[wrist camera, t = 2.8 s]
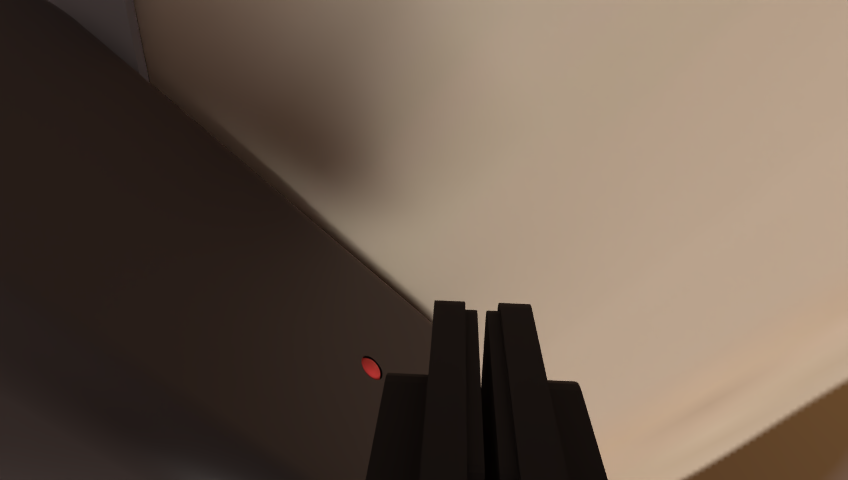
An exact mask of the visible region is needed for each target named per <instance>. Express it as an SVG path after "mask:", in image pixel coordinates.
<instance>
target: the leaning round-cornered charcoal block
mask: <svg viewBox="0 0 848 480" xmlns="http://www.w3.org/2000/svg"><path fill="white" fill-rule="evenodd" d="M432 326H433V324H432V323H431V322H430V321H429V320H428V319H427V318H426V317H425V316H423V315H422V314H421V313H420V312H419V311H417V310H416V309H415V308H414V307H413V306H412V305H410V304H409V303H408V302H407V301H406V300H405V299H403V298H402V297H401V296H400V295H399V294H397V293H396V292H395V291H394V290H393V289H392V288H390V287H389V286H388V285H387V284H386V283H385V282H383V281H382V280H381V279H380V278H379V277H377V276H376V275H375V274H374V273H373V272H372V271H370V270H369V269H368V268H367V267H366V266H365V265H363V264H362V263H361V262H360V261H359V260H357V259H356V258H355V257H354V256H353V255H352V254H350V253H349V252H348V251H347V250H346V249H345V248H343V247H342V246H341V245H340V244H339V243H337V242H336V241H335V240H334V239H333V238H332V237H330V236H329V235H328V234H327V233H326V232H325V231H323V230H322V229H321V228H320V227H319V226H317V225H316V224H315V223H314V222H313V221H312V220H310V219H309V218H308V217H307V216H306V215H305V214H303V213H302V212H301V211H300V210H299V209H297V208H296V207H295V206H294V205H293V204H292V203H290V202H289V201H288V200H287V199H286V198H285V197H283V196H282V195H281V194H280V193H279V192H277V191H276V190H275V189H274V188H273V187H272V186H270V185H269V184H268V183H267V182H266V181H265V180H263V179H262V178H261V177H260V176H259V175H257V174H256V173H255V172H254V171H253V170H252V169H250V168H249V167H248V166H247V165H246V164H245V163H243V162H242V161H241V160H240V159H239V158H237V157H236V156H235V155H234V154H233V153H232V152H230V151H229V150H228V149H227V148H226V147H225V146H223V145H222V144H221V143H220V142H219V141H217V140H216V139H215V138H214V137H213V136H212V135H210V134H209V133H208V132H207V131H206V130H205V129H203V128H202V127H201V126H200V125H199V124H197V123H196V122H195V121H194V120H193V119H192V118H190V117H189V116H188V115H187V114H186V113H185V112H183V111H182V110H181V109H180V108H179V107H177V106H176V105H175V104H174V103H173V102H172V101H170V100H169V99H168V98H167V97H166V96H165V95H163V94H162V93H161V92H160V91H159V90H157V89H156V88H155V87H154V86H153V85H152V84H150V83H149V82H148V81H147V80H146V79H145V78H143V77H142V76H141V75H140V74H139V73H137V72H136V71H135V70H134V69H133V68H132V67H130V66H129V65H128V64H127V63H126V62H125V61H123V60H122V59H121V58H120V57H119V56H117V55H116V54H115V53H114V52H113V51H112V50H110V49H109V48H108V47H107V46H106V45H105V44H103V43H102V42H101V41H100V40H99V39H97V38H96V37H95V36H94V35H93V34H92V33H90V32H89V31H88V30H87V29H86V28H85V27H83V26H82V25H81V24H80V23H79V22H77V21H76V20H75V19H74V18H72V17H71V16H70V15H68V14H67V13H66V12H64V11H63V10H61V9H60V8H59V7H57V6H56V5H54V4H52V3H51V2H49V1H48V0H0V480H366V475H367V470H368V465H369V460H370V454H371V449H372V444H373V439H374V434H375V429H376V423H377V418H378V413H379V408H380V403H381V398H382V393H383V387H384V382H385V378H386V375H387V373H404V374H425V375H428V373H429V361H430V349H431V338H432Z"/></svg>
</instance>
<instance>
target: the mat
mask: <svg viewBox="0 0 848 480" xmlns="http://www.w3.org/2000/svg"><path fill="white" fill-rule="evenodd" d="M48 1H49V2H51V3H52V4H54V5H56V6H57V7H59V8H60V9H61V10H63V11H64V12H66V13H67V14H68V15H70V16H71V17H72V18H74V19H75V20H76V21H77V22H79V23H80V24H81V25H82V26H83V27H85V28H86V29H87V30H88V31H89V32H90V33H92V34H93V35H94V36H95V37H96V38H97V39H99V40H100V41H101V42H102V43H103V44H105V45H106V46H107V47H108V48H109V49H110V50H112V51H113V52H114V53H115V54H116V55H117V56H119V57H120V58H121V59H122V60H123V61H125V62H126V63H127V64H128V65H129V66H130V67H132V68H133V69H134V70H135V71H136V72H137V73H139V74H140V75H141V76H142V77H143V78H145V79H146V80H147V81H148V82H149V77H148V72H147V67H146V62H145V57H144V52H143V47H142V42H141V37H140V32H139V27H138V22H137V17H136V12H135V7H134V2H133V0H48ZM149 83H150V82H149Z"/></svg>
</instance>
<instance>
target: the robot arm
mask: <svg viewBox="0 0 848 480" xmlns="http://www.w3.org/2000/svg"><path fill="white" fill-rule="evenodd" d="M366 480H608V479H607V476H606V472H605V469H604V466H603V462H602V459H601V455H600V452H599V449H598V445H597V442H596V438H595V435H594V432H593V428H592V425H591V421H590V418H589V415H588V411H587V408H586V405H585V401H584V398H583V394H582V391H581V388H580V386H579V384H578V383H577V382H573V381H552V380H547V377H546V372H545V368H544V363H543V358H542V354H541V349H540V344H539V340H538V335H537V331H536V326H535V321H534V317H533V312H532V308H531V305H530V304H510V303H499V305H498V311H487V312H486V322H485V337H484V352H483V367H482V382H481V380H480V359H479V338H478V317H477V310H465V302H460V301H436V300H435V303H434V314H433V326H432V338H431V349H430V361H429V373H428V375H425V374H404V373H387V375H386V378H385V382H384V387H383V393H382V398H381V403H380V408H379V413H378V418H377V423H376V429H375V434H374V439H373V444H372V449H371V454H370V460H369V465H368V470H367V475H366Z"/></svg>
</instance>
